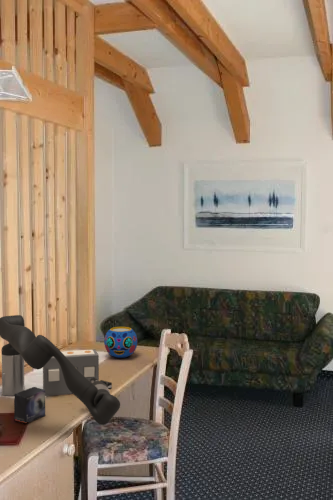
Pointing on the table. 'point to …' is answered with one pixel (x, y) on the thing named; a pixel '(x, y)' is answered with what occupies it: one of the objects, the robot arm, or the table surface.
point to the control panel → (79, 361)
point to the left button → (53, 374)
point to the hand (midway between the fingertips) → (93, 380)
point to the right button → (89, 371)
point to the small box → (29, 404)
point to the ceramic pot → (120, 342)
